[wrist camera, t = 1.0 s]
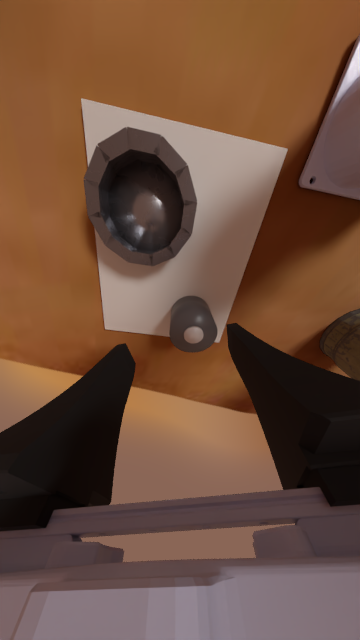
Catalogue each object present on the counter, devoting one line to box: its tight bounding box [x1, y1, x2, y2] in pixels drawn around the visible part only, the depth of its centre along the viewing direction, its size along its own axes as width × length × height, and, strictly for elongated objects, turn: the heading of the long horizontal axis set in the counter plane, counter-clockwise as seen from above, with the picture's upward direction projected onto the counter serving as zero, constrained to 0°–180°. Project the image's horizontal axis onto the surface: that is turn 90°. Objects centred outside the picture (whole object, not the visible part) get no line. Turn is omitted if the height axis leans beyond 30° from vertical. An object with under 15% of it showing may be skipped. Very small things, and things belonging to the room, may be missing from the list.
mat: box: [81, 98, 288, 342], centre depth 17 cm, size 16×20×1 cm
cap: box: [169, 296, 218, 352], centre depth 18 cm, size 5×5×5 cm
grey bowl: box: [84, 127, 197, 266], centre depth 13 cm, size 8×8×3 cm
